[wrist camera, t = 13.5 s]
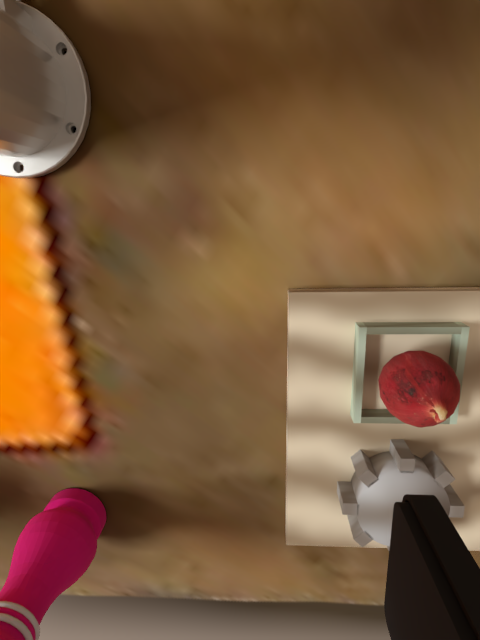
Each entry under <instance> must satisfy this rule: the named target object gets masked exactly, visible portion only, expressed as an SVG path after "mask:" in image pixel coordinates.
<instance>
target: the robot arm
mask: <svg viewBox="0 0 480 640" xmlns="http://www.w3.org/2000/svg"><path fill="white" fill-rule="evenodd" d="M65 50H67V53H66V54H65V55H64V52H65ZM90 112H91V92H90V86H89V81H88V76H87V73H86V70H85V67H84V65H83V62H82V59H81V57H80V55H79V54H78V52H77V50H76V48H75V47H74V45H73V43H72V42H71V41H70V39H69V38H68V37H67V36H66V34H65V33H64V32H63V31H62V30H61V29H60V28H59V27H58V26H57V25H56V24H55V23H54V22H53V21H52V20H51V19H49V18H48V17H47V16H45V15H44V14H42V13H41V12H40V11H38V10H37V9H35V8H33V7H31V6H29V5H27V4H25V3H22V2H20V1H16V0H0V175H2V176H7V177H13V178H34V177H39V176H44V175H46V174H48V173H51V172H53V171H55V170H57V169H58V168H60V167H61V166H62V165H64V164H65V163H66V162H67V161H68V160H69V159H70V158H71V157H72V156H73V155H74V154H75V153H76V151H77V149H78V148H79V146H80V144H81V143H82V141H83V139H84V136H85V133H86V130H87V128H88V125H89V118H90ZM75 127H76V132H75V133H74V131H73V129H74V128H75ZM23 166H24V170H23V169H22V167H23ZM384 607H385V617H386V622H387V626H388V630H389V633H390V637H391V640H480V569H479V567H478V565H477V564H476V562H475V560H474V559H473V557H472V555H471V554H470V552H469V550H468V549H467V547H466V545H465V544H464V542H463V540H462V538H461V537H460V535H459V533H458V532H457V530H456V528H455V527H454V525H453V523H452V522H451V520H450V518H449V517H448V515H447V513H446V512H445V510H444V508H443V507H442V505H441V503H440V502H439V500H438V499H437V497H436V496H434V495H413V494H406V495H404V497H403V500H402V502H395V504H394V508H393V518H392V529H391V539H390V550H389V560H388V571H387V582H386V592H385V605H384Z"/></svg>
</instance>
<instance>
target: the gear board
mask: <svg viewBox="0 0 480 640" xmlns="http://www.w3.org/2000/svg"><path fill="white" fill-rule="evenodd" d="M422 350H423V351H426V352H429V353H431V354H434V355H436V356H439V357H440V358H442V359H443V360H444V361H445V362H446V363H448V364H449V365H450V366H451V367H452V369H453V370H454V372H455V374H456V376H457V378H458V380H459V383H460V400H459V403H458V405H457V407H456V409H455V411H454V413H453V414H452V415H451V416H450V417H449V418H448V419H446V420H445V421H444V422H442V423H439V424H437V425H435V426H430V427H422V428H420V427H415V426H412V425H409V424H406V423H404V422H402V421H400V420H399V419H398V418H396V417H395V416H393V415H392V414H391V413H390V412H389V411H388V410H387V408H386V406H385V405H384V403H383V401H382V399H381V398H380V391H379V382H378V379H379V376H380V374H381V371H382V368H383V366H384V365H385V364H386V363H387V362H388V361H389V360H390V359H392V358H393V357H394V356H396V355H398V354H401V353H404V352H406V351H422ZM406 494H413V495H434V496H436V497H437V499H438V500H439V502H440V503H441V505H442V507H443V508H444V510H445V512H446V513H447V515H448V517H449V518H450V520H451V522H452V523H453V525H454V527H455V528H456V530H457V532H458V533H459V535H460V537H461V538H462V540H463V542H464V544H465V545H466V547H467V549H468V550H474V551H480V287H449V288H339V289H288V338H287V430H286V522H285V536H286V545H303V546H337V547H372V548H388V550H390V539H391V529H392V518H393V508H394V504H395V502H402V500H403V497H404V495H406Z"/></svg>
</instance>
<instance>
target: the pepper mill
mask: <svg viewBox="0 0 480 640" xmlns="http://www.w3.org/2000/svg"><path fill="white" fill-rule="evenodd" d="M105 523H106V510H105V508H104V506H103V504H102V502H101V501H100V500H99V498H97V497H96V496H95V495H94V494H92V493H91V492H88V491H86V490H83V489H79V488H69V489H65V490H62V491H60V492H58V493H57V494H56V495H54V497H53V498H52V499H51V500H50V502H49V503H48V505H47V506H46V507H45V509H44V511H43V512H41V513H39V514H37V515H35V516H34V517H33V518H32V519H31V520H30V521H29V522H28V523H27V525H26V526H25V528H24V529H23V531H22V532H21V534H20V536H19V538H18V541H17V543H16V546H15V549H14V553H13V557H12V562H11V567H10V571H9V575H8V578H7V580H6V583H5V585H4V586H3V588H2V590H1V592H0V640H38V639H39V636H40V627H39V625H40V623H41V620H42V618H43V616H44V615H45V613H46V611H47V610H48V608H49V607H50V605H51V604H52V603H53V601H54V600H55V599H56V598H57V597H58V596H59V595H60V594H61V593H62V592H63V591H65V590H66V589H67V588H69V587H70V586H71V585H72V584H74V583H75V582H76V581H77V580H78V579H79V578H80V577H81V576H82V575H83V574H84V572H85V571H86V570H87V568H88V567H89V565H90V564H91V562H92V560H93V558H94V556H95V553H96V549H97V539H98V537H99V535H100V533H101V531H102V529H103V527H104V525H105Z"/></svg>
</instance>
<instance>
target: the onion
mask: <svg viewBox="0 0 480 640" xmlns="http://www.w3.org/2000/svg"><path fill="white" fill-rule="evenodd" d="M378 382H379V391H380V398H381V399H382V401H383V403H384V405H385V406H386V408H387V410H388V411H389V412H390V413H391V414H392V415H393V416H395V417H396V418H398V419H399V420H400V421H402V422H404V423H406V424H409V425H412V426H415V427H420V428H422V427H430V426H435V425H437V424H439V423H442V422H444V421H445V420H446V419H448V418H449V417H450V416H451V415H452V414H453V413H454V411H455V409H456V407H457V405H458V403H459V400H460V383H459V380H458V378H457V376H456V374H455V372H454V370H453V369H452V367H451V366H450V365H449V364H448V363H446V362H445V361H444V360H443V359H442V358H440V357H439V356H436V355H434V354H431V353H429V352H426V351H423V350H422V351H406V352H404V353H401V354H398V355H396V356H394V357H393V358H392V359H390V360H389V361H388V362H387V363H386V364H385V365H384V366H383V368H382V371H381V374H380V376H379V379H378Z"/></svg>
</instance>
